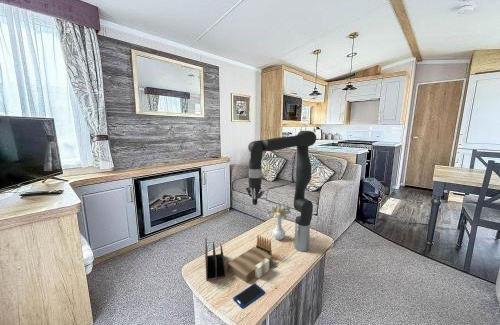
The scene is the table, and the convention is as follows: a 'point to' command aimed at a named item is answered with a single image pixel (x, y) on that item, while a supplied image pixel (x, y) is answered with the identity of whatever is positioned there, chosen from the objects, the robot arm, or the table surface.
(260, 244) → the ammunition clip
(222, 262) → the letter holder
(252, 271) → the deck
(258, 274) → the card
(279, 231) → the flower vase
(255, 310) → the table surface
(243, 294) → the cell phone
